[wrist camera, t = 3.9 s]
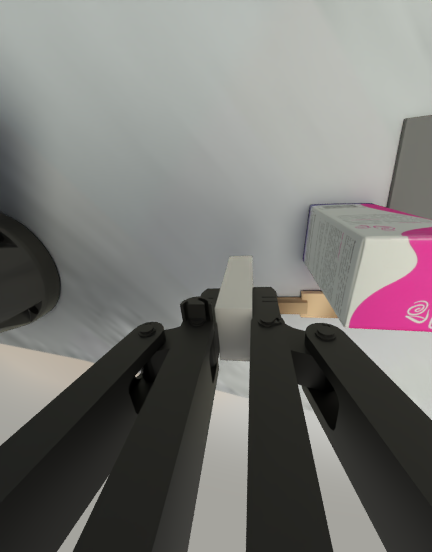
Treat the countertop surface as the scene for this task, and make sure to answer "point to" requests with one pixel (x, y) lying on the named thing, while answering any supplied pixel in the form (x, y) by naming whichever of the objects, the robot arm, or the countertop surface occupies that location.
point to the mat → (413, 169)
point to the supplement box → (372, 265)
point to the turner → (307, 305)
